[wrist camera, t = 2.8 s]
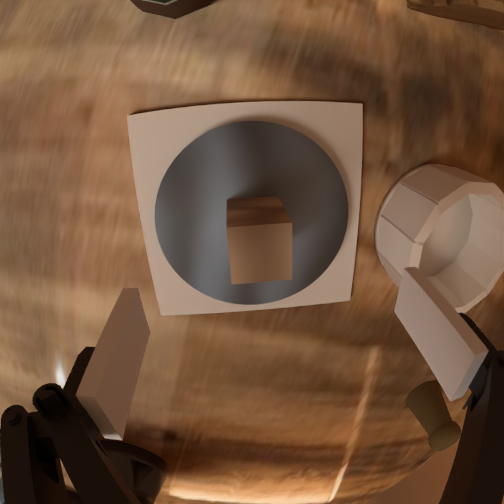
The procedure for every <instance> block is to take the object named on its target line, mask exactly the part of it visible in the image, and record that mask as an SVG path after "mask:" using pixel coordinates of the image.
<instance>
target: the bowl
mask: <svg viewBox="0 0 504 504" xmlns="http://www.w3.org/2000/svg"><path fill="white" fill-rule="evenodd" d="M374 244H375V249H376V253H377V256H378V259H379V260H380V262H381V264H382V266H383V267H384V268H385V270H386V272H387V275H388V276H389V277H390V279H391V280H392V281H393V282H394V283H395V285H396V286H397V287H398V288H400V284H401V279H402V274H403V269H404V268H407V267H417V268H418V269H419V270H420V271H421V272H422V274H423V275H424V276H425V277H426V278H427V279H428V280H429V281H430V282H431V283H432V284H433V285H434V286H435V288H436V289H437V290H438V291H439V292H440V293H441V294H442V295H443V296H444V298H445V299H446V300H447V301H448V302H449V303H450V304H451V306H452V307H453V308H454V309H455V310H456V311H457V312H458V313H461V312H462V313H465V312H467V311H468V310H469V309H471V308H472V307H473V306H474V305H476V304H477V303H478V302H480V301H481V300H482V299H483V298H485V297H486V296H487V293H488V294H489V293H490V291H491V290H492V288H493V287H494V285H495V284H496V282H497V281H498V279H499V278H500V276H501V274H502V273H503V271H504V194H503V192H502V191H501V190H500V189H499V187H498V186H497V185H496V184H495V183H493V182H490V181H488V180H486V179H483V178H481V177H479V176H476V175H474V174H471V173H469V172H467V171H464V170H462V169H459V168H456V167H453V166H445V165H442V164H436V163H432V164H424V165H421V166H418V167H415V168H413V169H411V170H410V171H408V172H407V173H405V174H404V175H402V176H401V177H400V178H399V179H398V180H397V181H396V182H395V183H394V184H393V186H392V187H391V188H390V189H389V191H388V192H387V194H386V195H385V197H384V199H383V201H382V203H381V206H380V208H379V211H378V214H377V217H376V222H375V228H374Z"/></svg>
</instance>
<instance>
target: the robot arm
mask: <svg viewBox="0 0 504 504" xmlns="http://www.w3.org/2000/svg"><path fill="white" fill-rule="evenodd" d="M394 312H395V314H396V315H397V317H398V318H399V320H400V321H401V323H402V324H403V326H404V327H405V329H406V330H407V332H408V333H409V335H410V336H411V338H412V339H413V341H414V343H415V344H416V346H417V347H418V349H419V350H420V352H421V354H422V355H423V357H424V359H425V360H426V362H427V363H428V365H429V367H430V368H431V370H432V372H433V373H434V375H435V377H436V378H437V380H438V382H439V383H440V385H441V387H442V388H443V390H444V392H445V394H446V395H447V397H448V399H449V401H453V400H456V399H458V398H461V397H463V396H464V394H465V393H466V391H467V389H468V388H470V390H471V391H472V393H471V395H470V397H469V398H468V400H467V401H466V403H465V405H464V406H463V409H465V408H466V406H467V405H468V407H467V412H466V416H465V421H464V425H463V429H462V433H461V437H460V441H459V445H458V449H457V452H456V456H455V459H454V462H453V466H452V469H451V472H450V475H449V478H448V481H447V484H446V486H445V489H444V492H443V495H442V498H441V500H440V502H439V504H501V503H502V499H503V495H504V351H501V350H500V351H497V350H496V348H495V347H494V346H493V345H492V343H491V342H490V341H489V340H488V339H487V337H486V336H485V335H484V334H483V333H482V332H481V330H480V329H479V328H478V327H476V324H475V323H474V322H473V321H472V320H471V318H469V317H468V316H466V315H465V314H463V313H462V312H461V313H458V312H457V311H456V310H455V309H454V308H453V307H452V306H451V304H450V303H449V302H448V301H447V300H446V299H445V298H444V296H443V295H442V294H441V293H440V292H439V291H438V290H437V289H436V288H435V286H434V285H433V284H432V283H431V282H430V281H429V280H428V279H427V278H426V277H425V276H424V275H423V274H422V272H421V271H420V270H419V269H418V268H417V267H407V268H404V269H403V274H402V279H401V284H400V288H399V293H398V297H397V302H396V306H395V310H394ZM149 334H150V330H149V327H148V323H147V320H146V317H145V313H144V310H143V306H142V302H141V299H140V295H139V291H138V288H124V289H123V290H122V292H121V294H120V296H119V298H118V300H117V302H116V304H115V306H114V308H113V310H112V312H111V314H110V317H109V319H108V321H107V323H106V325H105V327H104V329H103V332H102V334H101V336H100V338H99V341H98V343H97V345H96V347H86V348H85V349H84V350H83V351H82V352H81V353H80V354H79V355H78V357H77V359H76V361H75V363H74V364H75V365H74V366H73V368H72V370H71V373H70V374H69V377H68V379H67V381H66V383H65V386H64V388H63V389H62V388H61V386H60V385H57V384H55V383H49V384H45V385H43V386H41V387H40V388H38V389H37V391H36V392H35V393H34V396H33V405H34V406H35V408H36V409H37V410H38V412H30V413H28V412H27V411H26V410H25V409H24V407H23V406H20V405H13V406H10V407H8V408H7V409H6V410H5V411H4V413H3V414H2V417H1V469H2V476H1V478H0V504H154V502H155V499H156V498H157V496H158V494H159V492H160V490H161V488H162V486H163V484H164V482H165V480H166V474H167V466H166V464H165V463H164V462H163V461H162V460H161V459H160V458H158V457H157V456H155V455H153V454H151V453H149V452H147V451H145V450H142V449H140V448H137V447H134V446H131V445H127V444H123V443H117V442H109V441H99V440H98V439H97V438H98V434H99V431H100V432H101V433H102V435H103V436H104V438H107V439H115V440H123V436H124V432H125V427H126V423H127V419H128V414H129V410H130V406H131V402H132V398H133V394H134V390H135V386H136V382H137V378H138V374H139V370H140V367H141V363H142V359H143V356H144V352H145V349H146V345H147V341H148V338H149ZM60 459H61V461H62V463H63V465H64V467H65V470H66V472H67V474H68V476H69V478H70V480H71V482H72V484H73V485H74V487H75V489H73V488H71V487H69V486H67V485H65V483H64V478H63V473H62V468H61V463H60Z"/></svg>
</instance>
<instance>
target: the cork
mask: <svg viewBox="0 0 504 504" xmlns="http://www.w3.org/2000/svg"><path fill="white" fill-rule="evenodd" d="M406 404H407V405H408V407H409V408H410V409H411V411H412V412H413V414H414V415H415V416H416V418H417V419H418V421H419V422H420V423H421V425H422V426H423V428H424V429H425V431H426V432H427V433H428V435H429V438H428V441H429V445H430V447H431V448H432V449H433V450H435V451H442V450H444V449H446V448H448V447H450V446H451V445H453V444H454V443H455V442H456V441H457V440H458V439H459V437H460V434H461V430H460V427H459V425H458V424H457V423H456V422H454V421H452V420H451V417H450V414H449V411H448V409H447V406H446V404H445V401H444V398H443V396H442V393H441V391H440V388H439V386H438V384H437V382H435V381H429V382H426V383H423V384H422V385H420V386H418V387H417V388H415V389H414V390H413V391H412V392H411V393H410V394H409V395H408V397H407V399H406Z"/></svg>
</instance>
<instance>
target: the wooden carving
mask: <svg viewBox="0 0 504 504" xmlns="http://www.w3.org/2000/svg"><path fill="white" fill-rule="evenodd" d="M407 7H408V8H410V9H412V10H416V11H419V12H422V13H426V14H429V15H433V16H438V17H442V18H447V19H452V20H457V21H463V22H469V23H475V24H480V25H484V26H487V27H490V28H494V29H499V30H504V0H407Z"/></svg>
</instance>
